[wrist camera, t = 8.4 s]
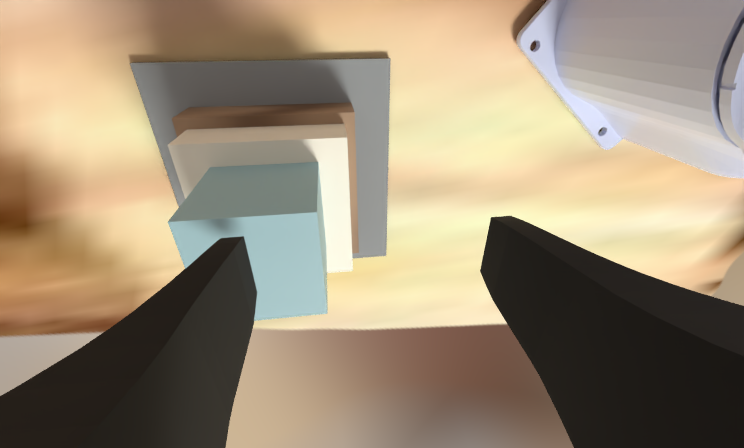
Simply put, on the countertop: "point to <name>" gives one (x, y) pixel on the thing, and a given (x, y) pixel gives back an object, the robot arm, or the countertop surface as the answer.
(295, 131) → the cream slab
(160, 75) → the slate mat
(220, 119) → the walnut slab
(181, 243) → the teal cube
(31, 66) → the countertop surface
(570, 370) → the robot arm
